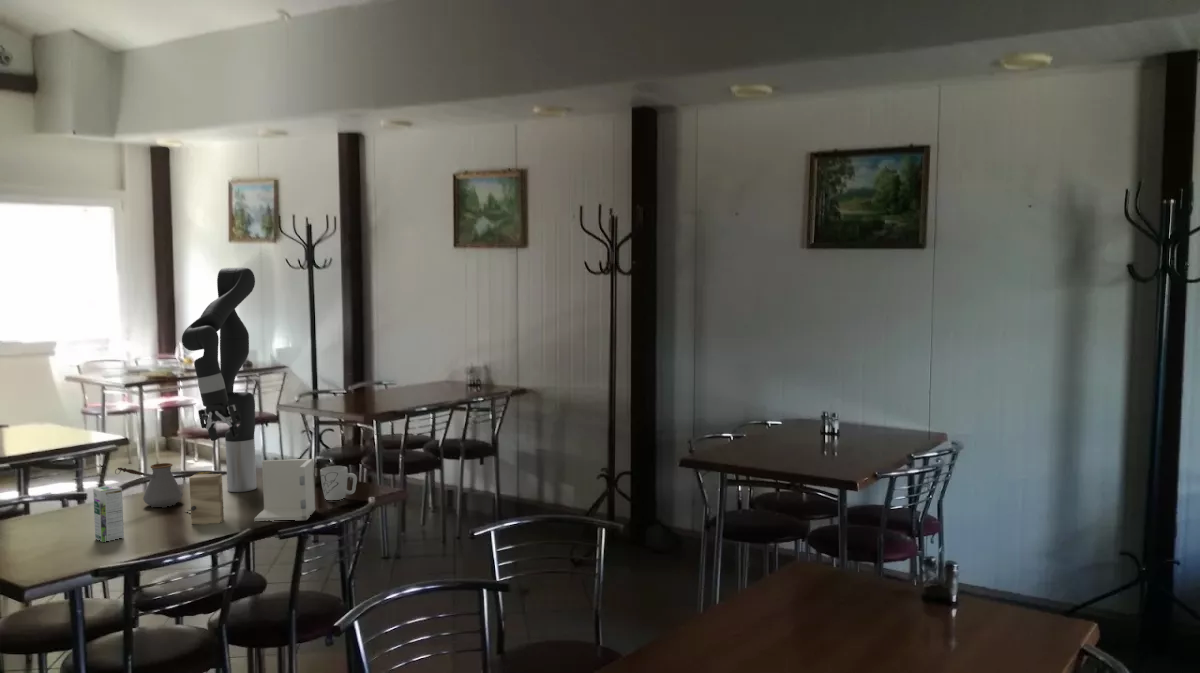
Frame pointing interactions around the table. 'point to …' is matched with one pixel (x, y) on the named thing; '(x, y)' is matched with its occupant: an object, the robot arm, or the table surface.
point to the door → (206, 498)
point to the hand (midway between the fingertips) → (224, 439)
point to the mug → (336, 482)
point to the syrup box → (108, 513)
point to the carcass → (287, 490)
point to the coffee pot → (159, 486)
